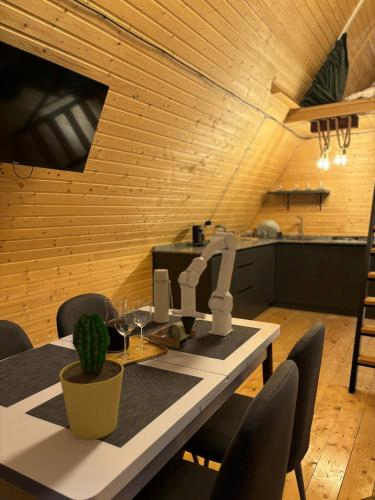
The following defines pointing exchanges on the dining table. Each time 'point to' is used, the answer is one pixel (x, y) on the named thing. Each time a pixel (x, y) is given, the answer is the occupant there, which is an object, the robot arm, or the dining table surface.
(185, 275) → the robot arm
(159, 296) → the water bottle
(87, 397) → the potted cactus
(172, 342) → the walnut bracket
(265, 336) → the dining table surface
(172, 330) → the ceramic mug
